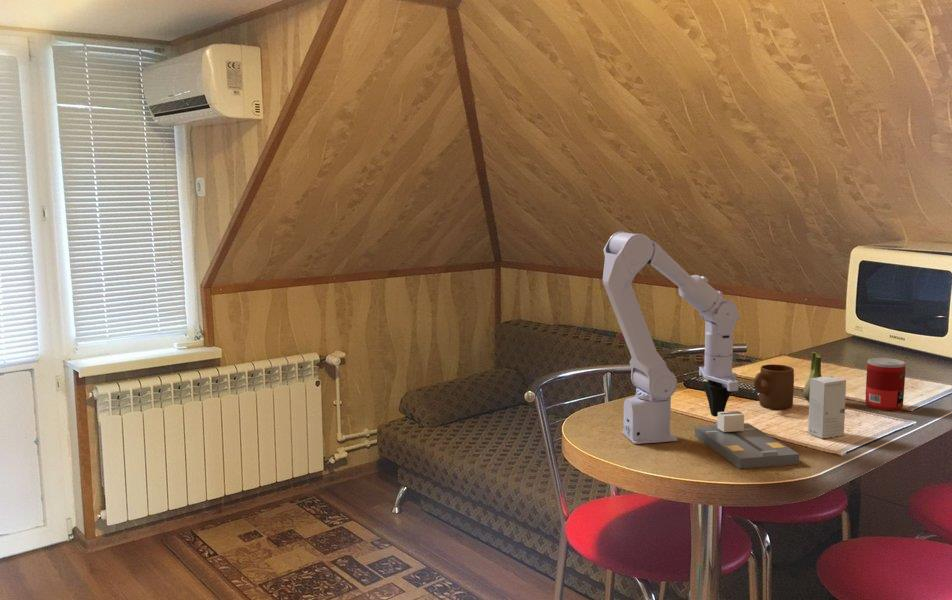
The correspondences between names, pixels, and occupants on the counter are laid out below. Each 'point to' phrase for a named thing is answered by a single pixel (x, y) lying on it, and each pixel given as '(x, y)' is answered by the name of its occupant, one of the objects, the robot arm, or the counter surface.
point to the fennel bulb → (813, 373)
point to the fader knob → (730, 421)
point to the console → (747, 447)
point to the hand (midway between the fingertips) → (717, 415)
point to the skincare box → (827, 406)
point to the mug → (775, 386)
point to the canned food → (885, 384)
